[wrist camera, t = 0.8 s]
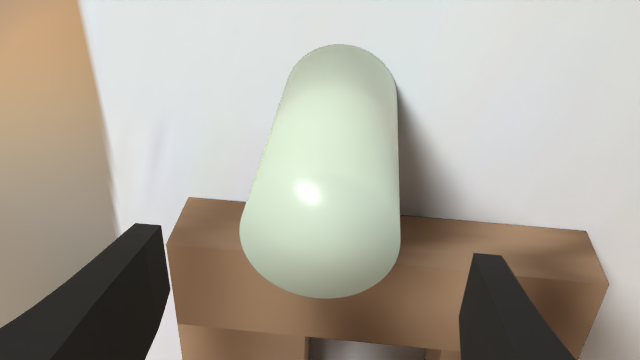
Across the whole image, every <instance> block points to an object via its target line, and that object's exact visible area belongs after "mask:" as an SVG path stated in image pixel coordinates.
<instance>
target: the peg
mask: <svg viewBox="0 0 640 360" xmlns="http://www.w3.org/2000/svg"><path fill="white" fill-rule="evenodd" d="M239 234H240V241H241V245H242V248H243V251H244V253H245V255H246V257H247V258H248V260H249V262H250V263H251V265H252V266H253V267H254V268H255V269H256V270H257V271H258V272H259V273H260V274H261V275H262V276H263V277H264V278H266V279H267V280H268V281H270V282H271V283H273V284H274V285H276V286H278V287H280V288H282V289H284V290H286V291H289V292H291V293H294V294H297V295H301V296H306V297H312V298H323V299H329V298H341V297H347V296H351V295H354V294H357V293H360V292H363V291H365V290H367V289H369V288H371V287H372V286H374V285H375V284H377V283H378V282H380V281H381V280H382V279H383V278H384V277H385V276H386V275H387V274H388V273H389V271H390V270H391V269H392V267H393V266H394V264H395V262H396V259H397V257H398V254H399V250H400V199H399V158H398V117H397V91H396V85H395V82H394V79H393V77H392V75H391V73H390V71H389V69H388V68H387V67H386V66H385V64H384V63H383V62H382V61H381V60H380V59H379V58H377V57H376V56H375V55H373V54H372V53H370V52H368V51H366V50H364V49H362V48H359V47H355V46H352V45H344V44H336V45H328V46H324V47H321V48H318V49H316V50H313V51H312V52H310V53H308V54H307V55H305V56H304V57H303V58H302V59H301V60H300V61H299V62H298V63H297V64H296V65H295V66H294V68H293V69H292V71H291V73H290V75H289V78H288V80H287V83H286V86H285V89H284V92H283V95H282V98H281V101H280V104H279V107H278V110H277V113H276V116H275V119H274V122H273V125H272V128H271V131H270V134H269V137H268V140H267V142H266V145H265V148H264V151H263V154H262V157H261V160H260V163H259V166H258V169H257V172H256V175H255V178H254V181H253V184H252V187H251V190H250V193H249V196H248V199H247V202H246V205H245V208H244V211H243V214H242V217H241V221H240V232H239Z"/></svg>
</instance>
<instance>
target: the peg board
mask: <svg viewBox="0 0 640 360" xmlns="http://www.w3.org/2000/svg"><path fill="white" fill-rule="evenodd" d="M245 205H246V202H238V201H226V200H215V199H203V198H191V197H189V198H188V200H187V202H186V204H185V206H184V208H183V210H182V212H181V214H180V216H179V218H178V221H177V223H176V225H175V227H174V229H173V231H172V233H171V235H170V237H169V239H168V242H167V244H166V247H167V254H168V261H169V268H170V275H171V282H172V289H173V296H174V303H175V310H176V317H177V323H178V330H179V337H180V344H181V351H182V358H183V360H310V342H311V337H316V338H326V339H336V340H347V341H357V342H367V343H377V344H387V345H398V346H408V347H418V348H426V352H425V357H424V360H461V351H460V335H459V313H460V308H461V304H462V300H463V296H464V292H465V287H466V283H467V279H468V275H469V270H470V266H471V262H472V258H473V253H481V254H493V255H501V256H502V257H503V258H504V259H505V261H506V262H507V264H508V266H509V267H510V269H511V270H512V272H513V273H514V275H515V277H516V278H517V280H518V281H519V283H520V284H521V286H522V287H523V289H524V290H525V292H526V293H527V295H528V296H529V298H530V299H531V301H532V302H533V304H534V305H535V306H536V308H537V309H538V311H539V312H540V313H541V315H542V316H543V318H544V319H545V320H546V322H547V323H548V324H549V326H550V327H551V328H552V330H553V331H554V332H555V334H556V335H557V336H558V338H559V339H560V340H561V341H562V343H563V344H564V345H565V347H566V348H567V349H568V350H569V351H570V353H571V354H572V355H573V356H574V357H575V359H576V360H578V358H579V355H580V353H581V350H582V348H583V346H584V343H585V341H586V338H587V336H588V334H589V331H590V329H591V327H592V324H593V322H594V319H595V317H596V315H597V312H598V310H599V308H600V305H601V303H602V300H603V298H604V296H605V293H606V291H607V289H608V286H609V283H608V280H607V278H606V276H605V273H604V271H603V269H602V266H601V264H600V262H599V260H598V257H597V255H596V253H595V250H594V248H593V246H592V244H591V241H590V239H589V237H588V234H587V232H586V231H579V230H567V229H555V228H543V227H532V226H520V225H508V224H496V223H485V222H473V221H461V220H449V219H438V218H426V217H414V216H402V215H400V250H399V254H398V257H397V259H396V262H395V264H394V266H393V267H392V269H391V270H390V271H389V273H388V274H387V275H386V276H385V277H384V278H383V279H382V280H381V281H380V282H378V283H377V284H375V285H374V286H372V287H371V288H369V289H367V290H365V291H363V292H360V293H357V294H354V295H351V296H347V297H341V298H329V299H323V298H312V297H306V296H301V295H297V294H294V293H291V292H289V291H286V290H284V289H282V288H280V287H278V286H276V285H274V284H273V283H271V282H270V281H268V280H267V279H266V278H264V277H263V276H262V275H261V274H260V273H259V272H258V271H257V270H256V269H255V268H254V267H253V266H252V265H251V263H250V262H249V260H248V258H247V257H246V255H245V253H244V251H243V248H242V245H241V241H240V234H239V232H240V221H241V217H242V214H243V211H244V208H245Z"/></svg>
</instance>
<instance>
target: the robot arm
mask: <svg viewBox="0 0 640 360" xmlns="http://www.w3.org/2000/svg"><path fill="white" fill-rule="evenodd" d="M169 292H170V284H169V277H168V271H167V264H166V257H165V250H164V243H163V236H162V230H161V225H150V224H138V223H135V224H134V225H133V226H132V227H130V228H129V229H128V230H127V231H126V232H124V233H123V234H122V235H121V236H120V237H119V238H117V239H116V240H115V241H114V242H113V243H112V244H110V245H109V246H108V247H107V248H106V249H105V250H104V251H102V252H101V253H100V254H99V255H98V256H96V257H95V258H94V259H93V260H92V261H91V262H90V263H88V264H87V265H86V266H85V267H83V268H82V269H81V270H80V271H79V272H77V273H76V274H75V275H74V276H73V277H71V278H70V279H69V280H68V281H67V282H65V283H64V284H63V285H61V286H60V287H59V288H58V289H56V290H55V291H53V292H52V293H51V294H49V295H48V296H47V297H45V298H44V299H43V300H42V301H40V302H39V303H37V304H36V305H35V306H33V307H32V308H31V309H29V310H28V311H26V312H25V313H23V314H22V315H20V316H19V317H17V318H16V319H14V320H13V321H11V322H9V323H8V324H6V325H5V326H3V327H2V328H0V360H145V358H146V356H147V353H148V351H149V349H150V347H151V345H152V342H153V340H154V338H155V335H156V333H157V331H158V329H159V325H160V322H161V319H162V316H163V313H164V310H165V306H166V303H167V299H168V296H169ZM459 335H460V351H461V360H576V359H575V357H574V356H573V355H572V354H571V353H570V351H569V350H568V349H567V348H566V347H565V345H564V344H563V343H562V341H561V340H560V339H559V338H558V336H557V335H556V334H555V332H554V331H553V330H552V328H551V327H550V326H549V324H548V323H547V322H546V320H545V319H544V318H543V316H542V315H541V313H540V312H539V311H538V309H537V308H536V306H535V305H534V304H533V302H532V301H531V299H530V298H529V296H528V295H527V293H526V292H525V290H524V289H523V287H522V286H521V284H520V283H519V281H518V280H517V278H516V277H515V275H514V273H513V272H512V270H511V269H510V267H509V266H508V264H507V262H506V261H505V259H504V258H503V257H502V256H501V255H493V254H481V253H473V258H472V262H471V266H470V270H469V275H468V279H467V283H466V287H465V292H464V296H463V300H462V304H461V308H460V313H459Z"/></svg>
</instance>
